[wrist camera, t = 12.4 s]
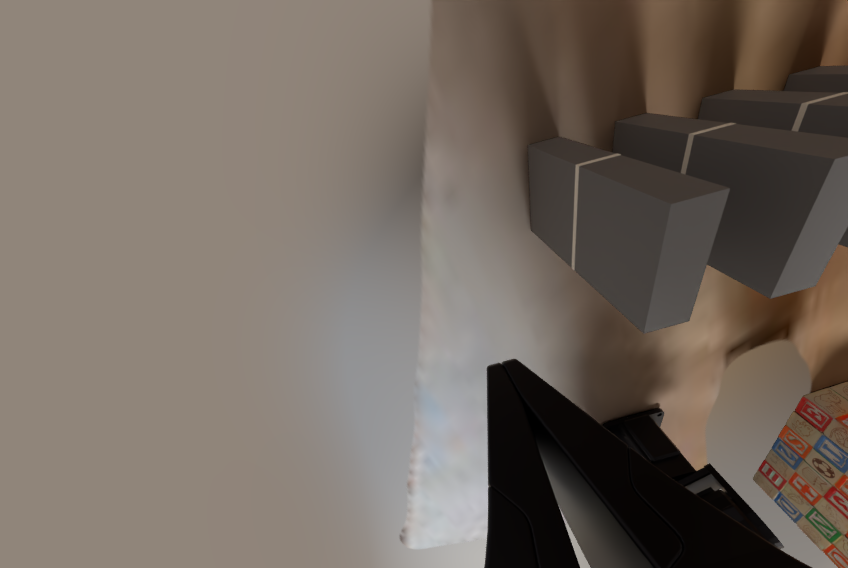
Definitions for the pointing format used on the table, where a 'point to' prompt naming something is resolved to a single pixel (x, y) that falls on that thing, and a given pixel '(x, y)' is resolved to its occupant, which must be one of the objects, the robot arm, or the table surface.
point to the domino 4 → (819, 80)
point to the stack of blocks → (813, 470)
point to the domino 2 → (756, 193)
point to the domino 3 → (781, 113)
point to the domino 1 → (626, 227)
